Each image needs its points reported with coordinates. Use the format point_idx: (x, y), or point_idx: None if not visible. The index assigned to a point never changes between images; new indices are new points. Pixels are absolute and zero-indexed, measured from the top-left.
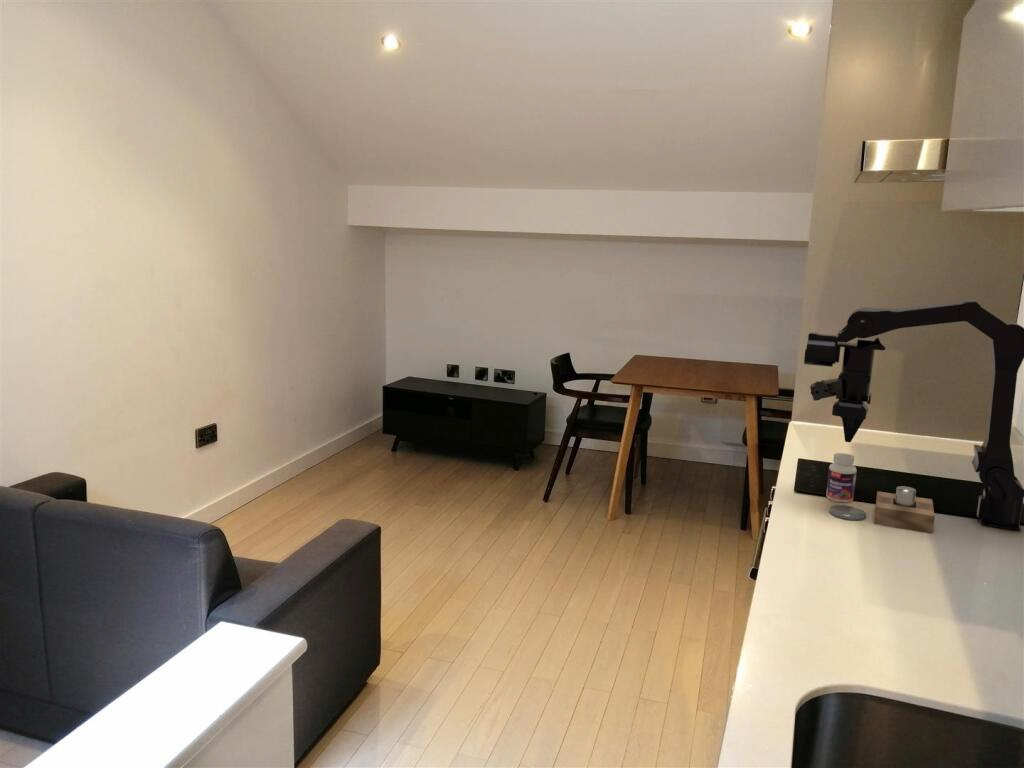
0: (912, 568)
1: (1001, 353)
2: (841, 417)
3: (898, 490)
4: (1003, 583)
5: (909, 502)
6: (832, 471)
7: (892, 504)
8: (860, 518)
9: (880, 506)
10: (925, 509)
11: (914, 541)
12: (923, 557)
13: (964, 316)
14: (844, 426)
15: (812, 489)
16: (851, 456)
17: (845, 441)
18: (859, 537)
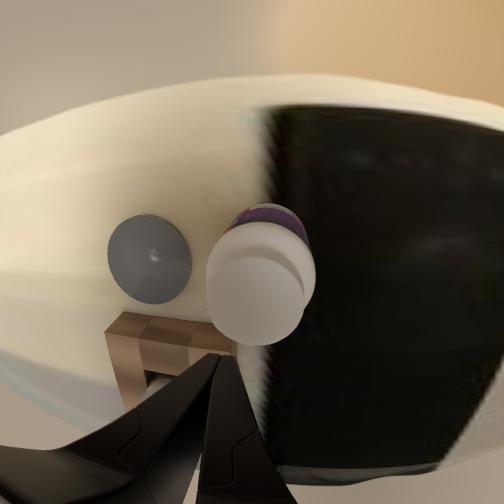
0: (13, 331)
1: None
2: (37, 451)
3: (142, 399)
4: (48, 406)
5: None
6: (223, 235)
7: (142, 367)
8: (122, 287)
9: (112, 341)
10: None
11: (88, 360)
12: (46, 354)
13: None
14: (130, 419)
15: (325, 160)
16: (255, 336)
17: (207, 354)
18: (49, 276)
